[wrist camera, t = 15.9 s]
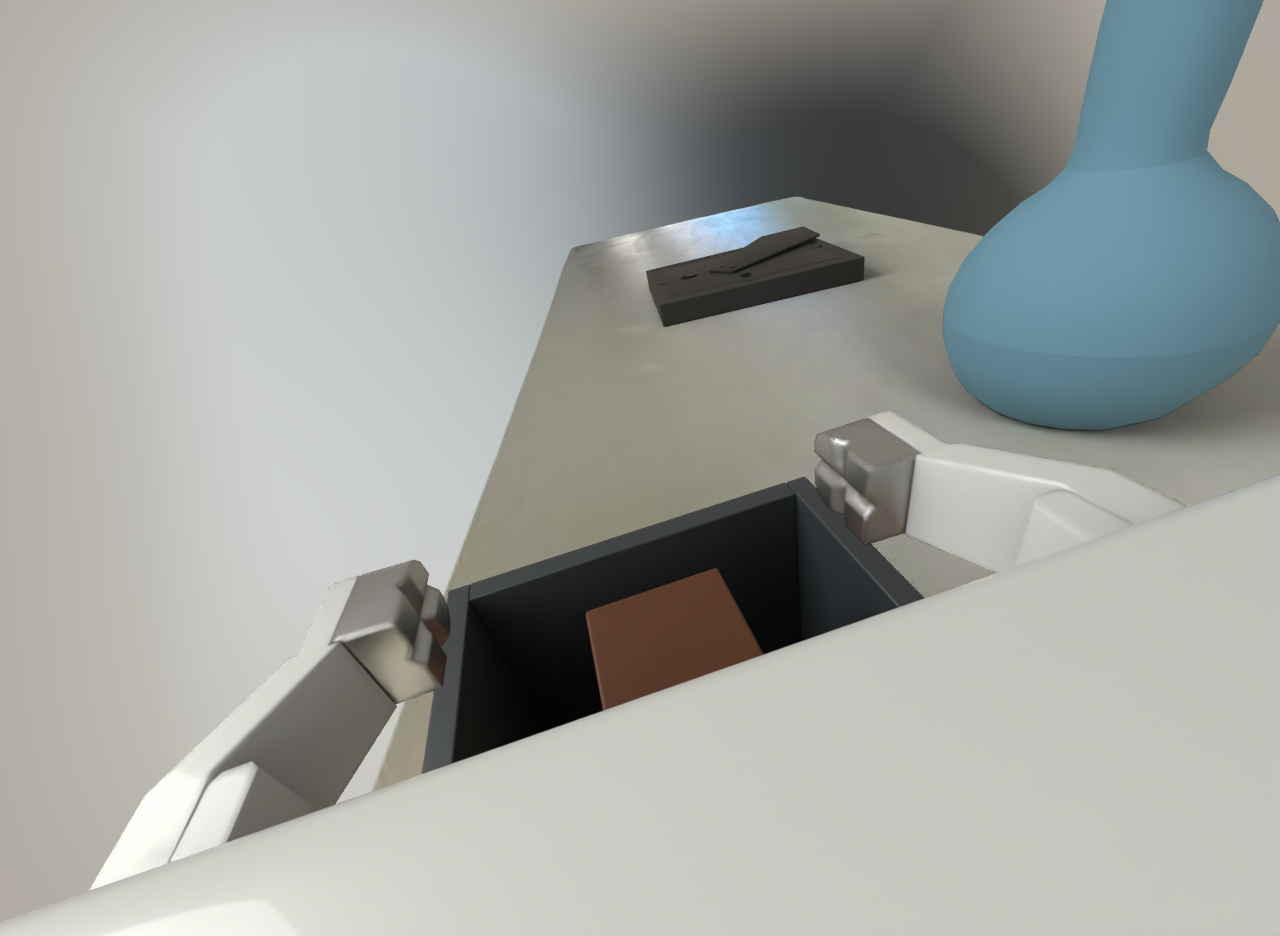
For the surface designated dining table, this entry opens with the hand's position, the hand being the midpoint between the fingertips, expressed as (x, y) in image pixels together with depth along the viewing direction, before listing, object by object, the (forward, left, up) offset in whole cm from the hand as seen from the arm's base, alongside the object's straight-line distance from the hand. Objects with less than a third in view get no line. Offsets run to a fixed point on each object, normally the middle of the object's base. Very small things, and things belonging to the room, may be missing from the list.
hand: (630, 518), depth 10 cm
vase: (+34, +18, -16) cm, 42 cm away
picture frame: (+30, +68, -16) cm, 76 cm away
